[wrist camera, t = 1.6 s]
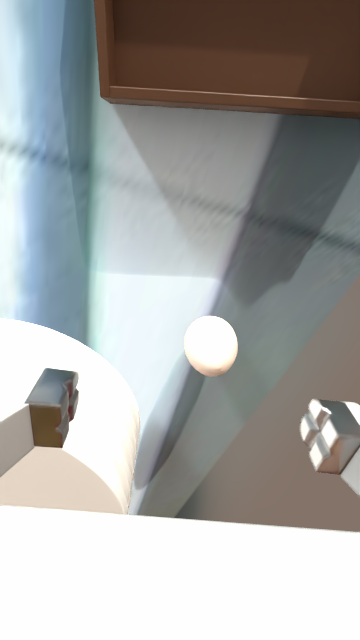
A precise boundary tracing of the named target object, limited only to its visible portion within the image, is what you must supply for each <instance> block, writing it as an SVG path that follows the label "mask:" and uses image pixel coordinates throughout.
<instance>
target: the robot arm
mask: <svg viewBox="0 0 360 640" xmlns="http://www.w3.org/2000/svg"><path fill="white" fill-rule="evenodd" d="M78 382H79V373H78V372H76V371H69V370H62V369H54V368H45V367H38V366H30V367H28V368H27V369H26V371H25V372H24V374H23V375H22V377H21V378H20V380H19V381H18V383H17V384H16V386H15V387H14V388H13V390H12V391H11V393H10V394H9V396H8V397H7V399H6V400H5V401H0V477H1V476H3V475H4V474H5V473H6V472H7V471H8V470H9V469H11V468H12V467H13V466H14V465H15V464H16V463H18V462H19V461H20V460H21V459H22V458H23V457H24V456H26V455H27V454H28V453H29V452H30V451H31V450H33V449H34V446H37V447H53V448H63V446H64V443H65V441H66V438H67V436H68V433H69V422H71V421H72V420H73V419H74V417H75V414H76V411H77V407H78V402H79V390H78V389H77V388H76V387H77V385H78ZM308 408H309V411H310V412H308V413H307V414H305V415H303V417H302V420H301V422H300V434H301V438H302V440H303V442H304V443H305V444H306V445H307V446H308V447H309V448H310V450H309V453H308V454H309V457H310V459H311V461H312V464H313V466H314V468H315V471H316V472H322V473H330V474H340V477H341V478H342V479H343V480H344V481H345V482H346V483H347V484H348V485H349V486H350V487H351V488H352V489H353V490H354V491H355V493H356V494H357V495H358V496H359V497H360V406H359V405H358V404H357V403H352V402H339V401H329V400H321V399H313V400H312V401H311V402H310V404H309V406H308ZM0 640H360V532H351V531H337V530H323V529H310V528H297V527H284V526H270V525H257V524H244V523H231V522H217V521H203V520H191V519H178V518H165V517H152V516H139V515H126V514H113V513H100V512H87V511H73V510H60V509H47V508H34V507H21V506H8V505H0Z"/></svg>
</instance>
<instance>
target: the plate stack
mask: <svg viewBox="0 0 360 640" xmlns="http://www.w3.org/2000/svg"><path fill="white" fill-rule="evenodd" d="M30 366H38V367H45V368H54V369H62V370H69V371H76V372H78V373H79V382H78V385H77V387H76V388H77V389H78V390H79V402H78V407H77V411H76V414H75V417H74V419H73V420H72V421H71V422H69V433H68V436H67V438H66V441H65V443H64V446H63V448H53V447H37V446H34V449H33V450H31V451H30V452H29V453H28V454H27V455H26V456H24V457H23V458H22V459H21V460H20V461H19V462H18V463H16V464H15V465H14V466H13V467H12V468H11V469H9V470H8V471H7V472H6V473H5V474H4V475H3V476H1V477H0V505H8V506H21V507H34V508H47V509H60V510H73V511H87V512H100V513H113V514H126V515H128V508H129V503H130V497H131V489H132V481H133V475H134V468H135V460H136V454H137V446H138V439H139V432H140V415H139V410H138V406H137V403H136V400H135V398H134V395H133V393H132V391H131V390H130V388H129V386H128V385H127V383H126V382H125V381H124V379H123V378H122V377H121V375H120V374H119V373H118V372H117V371H116V370H115V369H114V368H113V367H112V366H111V365H110V364H109V363H108V362H107V361H106V360H105V359H103V358H102V357H101V356H100V355H98V354H97V353H96V352H94V351H93V350H91V349H90V348H88V347H87V346H85V345H83V344H82V343H80V342H78V341H76V340H74V339H72V338H70V337H68V336H66V335H64V334H62V333H59V332H57V331H54V330H51V329H49V328H46V327H43V326H39V325H35V324H31V323H27V322H22V321H17V320H9V319H0V401H5V400H6V399H7V397H8V396H9V394H10V393H11V391H12V390H13V388H14V387H15V386H16V384H17V383H18V381H19V380H20V378H21V377H22V375H23V374H24V372H25V371H26V369H27V368H28V367H30Z"/></svg>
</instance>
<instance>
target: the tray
mask: <svg viewBox="0 0 360 640" xmlns="http://www.w3.org/2000/svg"><path fill="white" fill-rule="evenodd" d="M94 6H95V21H96V36H97V51H98V66H99V81H100V96H101V97H102V98H103V99H105V100H106V101H108V102H109V103H112V104H128V105H144V106H161V107H177V108H194V109H210V110H226V111H243V112H259V113H275V114H292V115H308V116H324V117H341V118H357V119H360V0H94Z"/></svg>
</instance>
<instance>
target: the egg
mask: <svg viewBox="0 0 360 640" xmlns="http://www.w3.org/2000/svg"><path fill="white" fill-rule="evenodd" d="M184 347H185V353H186V356H187V358H188V361H189V362H190V363H191V365H192V366H193V367H194V368H195V369H196V370H197V371H199V372H200V373H202V374H203V375H206V376H219V375H222V374H224V373H225V372H226V371H228V370H229V368H230V367H231V366H232V364H233V363H234V360H235V358H236V355H237V349H238V344H237V338H236V335H235V333H234V330H233V329H232V327H231V326H230V325H229V324H228V323H227V322H226V321H224V320H223V319H221V318H218V317H214V316H205V317H202V318H199V319H197V320H196V321H195V322H193V323H192V324H191V326H190V327H189V328H188V330H187V332H186V335H185V340H184Z"/></svg>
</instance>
